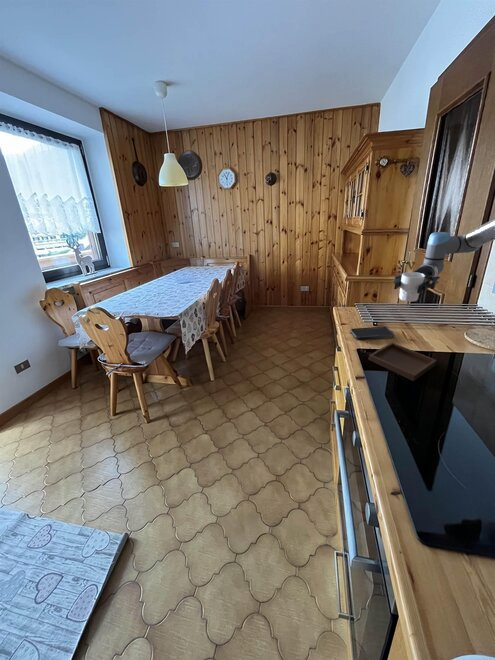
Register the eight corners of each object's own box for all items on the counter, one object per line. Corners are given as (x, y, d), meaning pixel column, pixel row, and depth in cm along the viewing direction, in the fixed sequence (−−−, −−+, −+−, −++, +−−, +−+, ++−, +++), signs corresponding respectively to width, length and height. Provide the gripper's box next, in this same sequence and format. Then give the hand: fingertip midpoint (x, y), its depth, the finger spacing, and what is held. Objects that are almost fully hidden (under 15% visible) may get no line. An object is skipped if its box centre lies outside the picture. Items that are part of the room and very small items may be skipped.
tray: (435, 365, 94) (436, 360, 93) (413, 381, 87) (414, 375, 86) (390, 347, 105) (391, 342, 104) (368, 359, 99) (369, 354, 98)
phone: (350, 328, 117) (385, 326, 117) (349, 331, 118) (385, 328, 118) (357, 337, 110) (395, 335, 110) (356, 340, 111) (394, 337, 111)
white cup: (414, 295, 118) (419, 271, 113) (423, 302, 111) (429, 277, 106) (394, 295, 118) (398, 272, 114) (402, 302, 112) (407, 278, 107)
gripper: (450, 286, 118) (434, 302, 104) (398, 278, 131) (378, 292, 117) (455, 268, 115) (439, 283, 101) (401, 262, 128) (381, 274, 114)
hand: (406, 287), depth 109 cm, fingers closed on white cup, 8 cm apart
